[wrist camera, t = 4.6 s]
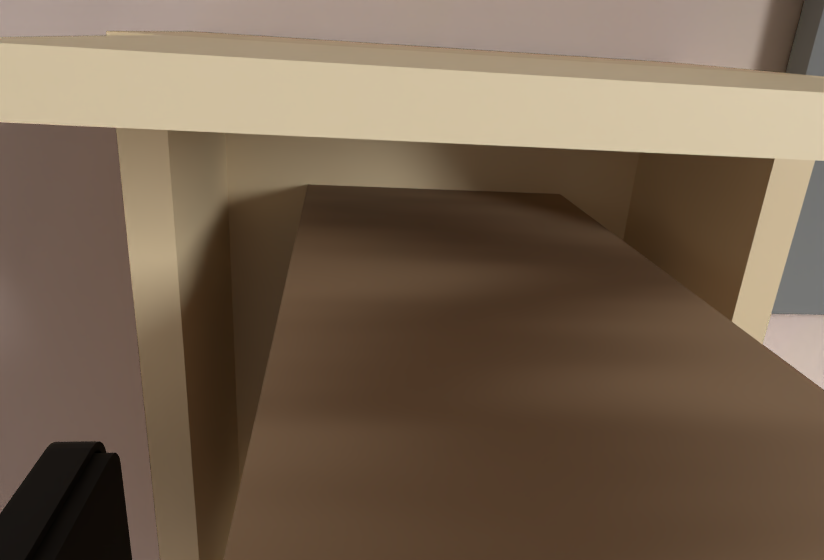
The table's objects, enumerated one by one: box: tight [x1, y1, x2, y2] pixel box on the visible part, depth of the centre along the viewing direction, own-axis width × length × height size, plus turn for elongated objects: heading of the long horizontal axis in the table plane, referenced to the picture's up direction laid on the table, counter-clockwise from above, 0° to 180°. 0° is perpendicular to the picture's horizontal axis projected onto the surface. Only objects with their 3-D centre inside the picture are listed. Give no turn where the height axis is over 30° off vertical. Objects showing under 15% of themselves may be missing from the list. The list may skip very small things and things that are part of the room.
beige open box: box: [0, 31, 824, 560], centre depth 10 cm, size 9×12×9 cm
